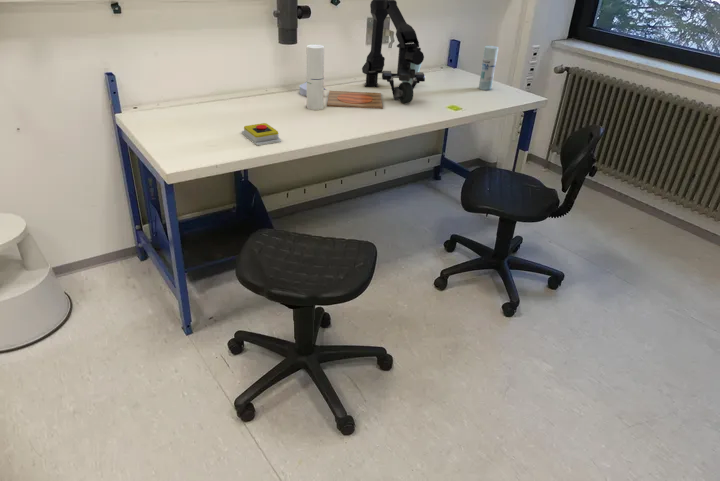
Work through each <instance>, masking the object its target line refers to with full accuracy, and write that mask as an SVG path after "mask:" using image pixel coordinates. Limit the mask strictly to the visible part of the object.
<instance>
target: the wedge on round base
mask: <svg viewBox="0 0 720 481" xmlns="http://www.w3.org/2000/svg"><path fill="white" fill-rule="evenodd" d="M324 91H327V88H326V87H324ZM299 95H301V96H305V97H307V80H306V81H305V82H304V83H301V84H299Z"/></svg>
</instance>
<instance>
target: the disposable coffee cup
mask: <svg viewBox="0 0 720 481" xmlns="http://www.w3.org/2000/svg"><path fill="white" fill-rule="evenodd" d="M422 63H423V62H422ZM422 63H421V64H419V65H415V64H413V63H411V69H415V72H421V67H422ZM402 82H409V83H410V84H411V82H412V79H411V78H410V81H401V83H402Z"/></svg>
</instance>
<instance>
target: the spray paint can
mask: <svg viewBox="0 0 720 481" xmlns="http://www.w3.org/2000/svg"><path fill="white" fill-rule="evenodd" d="M498 53H499V47H498V46H495V45H485V46H484V50H483V58H482V63H481V69H480V76H479V84H478V89H479V90H482V91H491V90H492V88H493V82H494V75H495V70H496V64H497V59H498Z"/></svg>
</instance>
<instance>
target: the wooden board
mask: <svg viewBox="0 0 720 481" xmlns="http://www.w3.org/2000/svg"><path fill="white" fill-rule="evenodd" d="M326 107H331V108H333V107H334V108H338V107H339V108H356V109H377V110H378V109H381V110H382V109H383V107H384V106H383V99H382V92H371V91H369V92H368V91H347V90H345V91H344V90H329V91H328V97H327V102H326Z"/></svg>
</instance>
